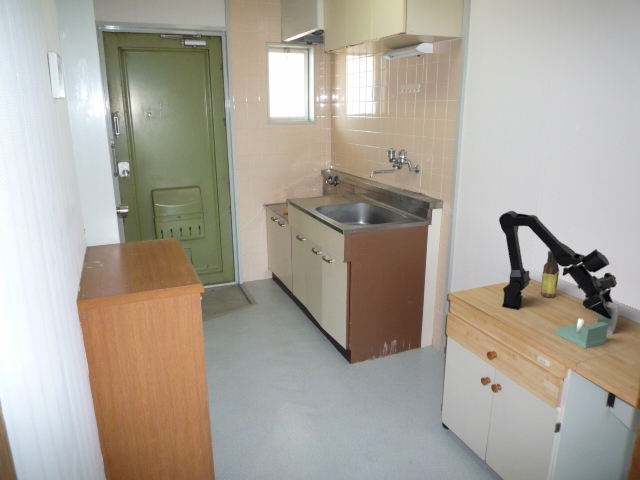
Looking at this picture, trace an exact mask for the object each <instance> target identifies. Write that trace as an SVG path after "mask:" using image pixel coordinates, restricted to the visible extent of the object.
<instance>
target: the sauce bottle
mask: <svg viewBox="0 0 640 480" xmlns="http://www.w3.org/2000/svg"><path fill="white" fill-rule="evenodd" d="M546 260H547V261H546V262H545V264H544V265H543V269H542V270H543V271H542V275H541V283H540V284H541V285H540V295H541V296H542V297H545V298H550V299H551V298H554V297H556V294H557V291H558V285H559V284H558V282H559V275H560V269H559V264H558V263H557V262H556V260H555V259H554V257H553V255H552V253H551V251H550V250H548V252H547V259H546Z"/></svg>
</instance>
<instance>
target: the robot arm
mask: <svg viewBox="0 0 640 480" xmlns="http://www.w3.org/2000/svg"><path fill="white" fill-rule="evenodd" d="M498 222H499V226H500V227H501V230H502V232H503V233H504V236H505V240H506V245H507V252H508V257H509V262H510V263H509V265H510V273H509V283H508V284H507V285H505V286H504V287H503V288H502V290H503V303H502V304H501V306H502V308H508V309H513V310H520V308H522V304H523V300H524V299H523V297H524V295H523V294H522V292H523V291H524V290H525V289H526V288H527V287H528V286H529V285H530V281H531V277H530V271H529V270H525V268H524V266H523V265H524V264H523V259H522V253H521V246H520V240H519V234H518V233H519V227H528V228H530V230H531V231H532V232H533V233H534V234H535V235H536V236H537V237H538V239H539V240H540V241H541V242H542V243H544V245H545V246H546V247H547V248H548V249H549V251H551V253H552V255H553V257H554V259H555V260H556V262H557V263H558V266H560V267H562V268H563V269H562V270H563V271H562V277H565V276H567V275H570V277H571V278H572V279H573V281H574V282H575V283H576V284H577V288H578V289H579V290H580V289H581V290H582V291H583V293H584V297H585V298H584V300H583V301H582V306H583V307H584V308H585V309H587V310H591V311H592V312H594V313H597V314H598V315H599V314H600V315H602V316H604V317H606V318H608V319H611V318H612V317H611V315H610V313H609V312H608V310H607V308H606V307H605V305H604V301H607V302H612V303H614V301H613V299H612V296H611V291H612V289H613V288H615V287H617V284H618V283H617V277H616V276H615V275H613V274H612V273H611V272H605V273H604V275H603V276H602V277H599V278H598V277H597V276H596V275H592V274H591V273H597V272H599V271H601V270H602V269H604V268H605V267H607V266H609V265H610V262H609V260H608V258H607V257H606V256H605V254H603V253H602V252H600V251H598V250H597V249H593V250H592V251H591V252H589V253H588V254H586V255H583V254H580V253H577V252H576V251H574V250H573V249H572V248H571V247H570V246H568V245H566V244H564V243H562V242H561V240H559V239H558V238H557V237H556V236H555V235H554V234H553V233H552V232H551V231H550V229H548V227H547V226H545V224H544V223H543V222H542V221H541V220H540V219H539V218H538V216H536V215H534V214H526V213H518V212H516V211H514V210H509V211H507V212H505V213H502V214H501V215H500V217H499V219H498Z"/></svg>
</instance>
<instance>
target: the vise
mask: <svg viewBox="0 0 640 480" xmlns="http://www.w3.org/2000/svg"><path fill="white" fill-rule="evenodd" d="M607 329H608V324H606V323H604V322H599V323H598V322H596V323H591V324H588V325H585V318H581V317H580V318H578V319H577V322H576V323H574V324H573V323H572V324H569V325H565V326H560V327H558V328H555V331H554V334H555V335H557V336H559V337H561V338H564V339H566V340H567V341H569V342H571V343H573V344H575V345H577V346H579V347H581V348H583V349H589V348H593V347H596V346H599V345H601V344H605V343H606V340H607V334H608V333H607Z"/></svg>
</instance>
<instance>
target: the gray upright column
mask: <svg viewBox="0 0 640 480" xmlns="http://www.w3.org/2000/svg"><path fill="white" fill-rule="evenodd" d="M604 305H605V307H606V308H607V310H608V312H609V313H610V315H611V317H612V318H611V319H608V318H606V317H604V316H602V315H600V314H598V317H597V323H599V322H604V323H606V324H608V329H607V334H610V335H613V334H614V332H615V331H616V327H617V322H618V321H617V320H618V317H619V315H618V314H619V309H620V303H616V302H613V303H612V302H607V301H604Z"/></svg>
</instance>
